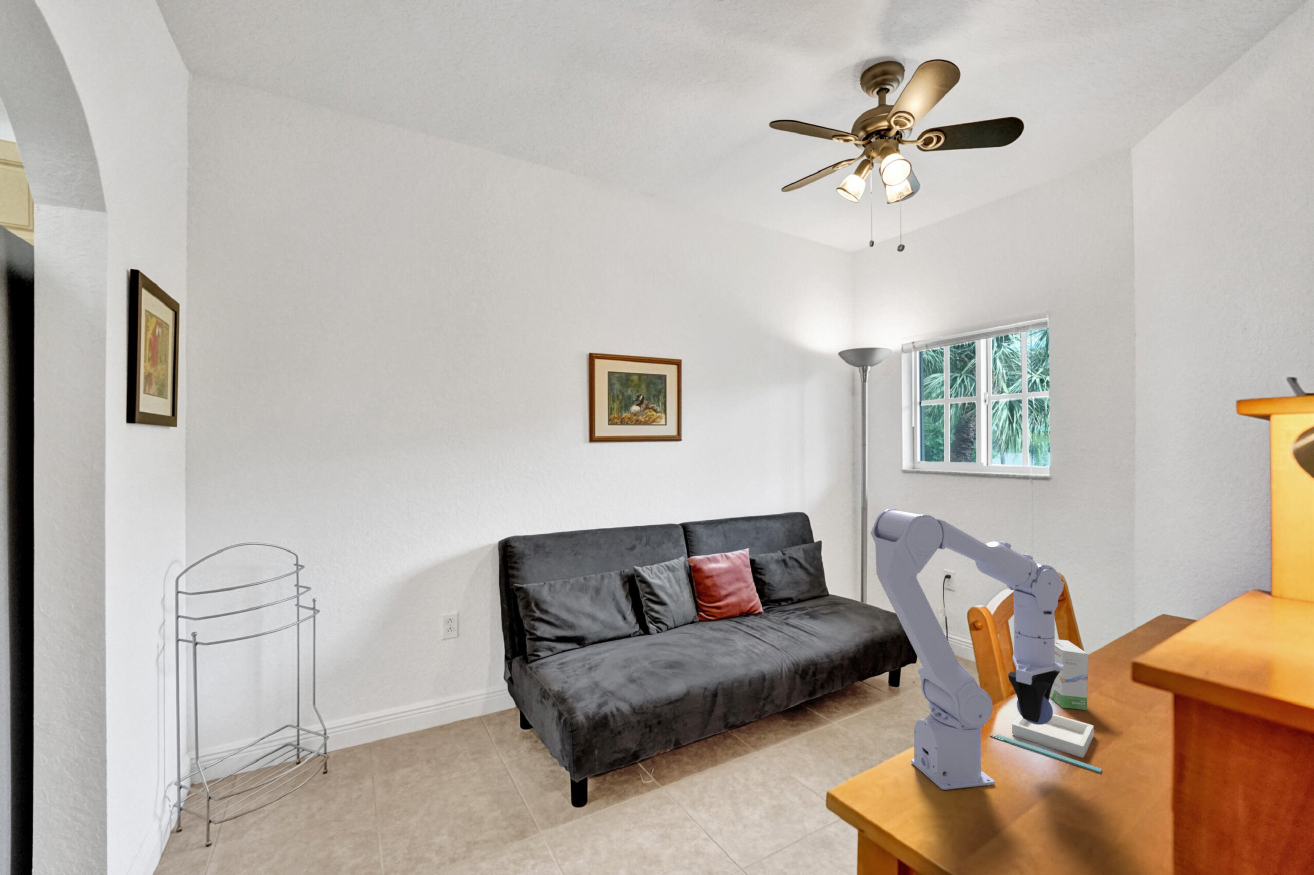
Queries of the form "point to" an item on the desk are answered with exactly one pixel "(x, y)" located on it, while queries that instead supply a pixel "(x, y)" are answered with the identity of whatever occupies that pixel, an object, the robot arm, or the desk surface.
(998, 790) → the desk surface
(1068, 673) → the ink box
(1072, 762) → the teal line
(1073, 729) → the tray
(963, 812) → the desk surface
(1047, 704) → the ball
